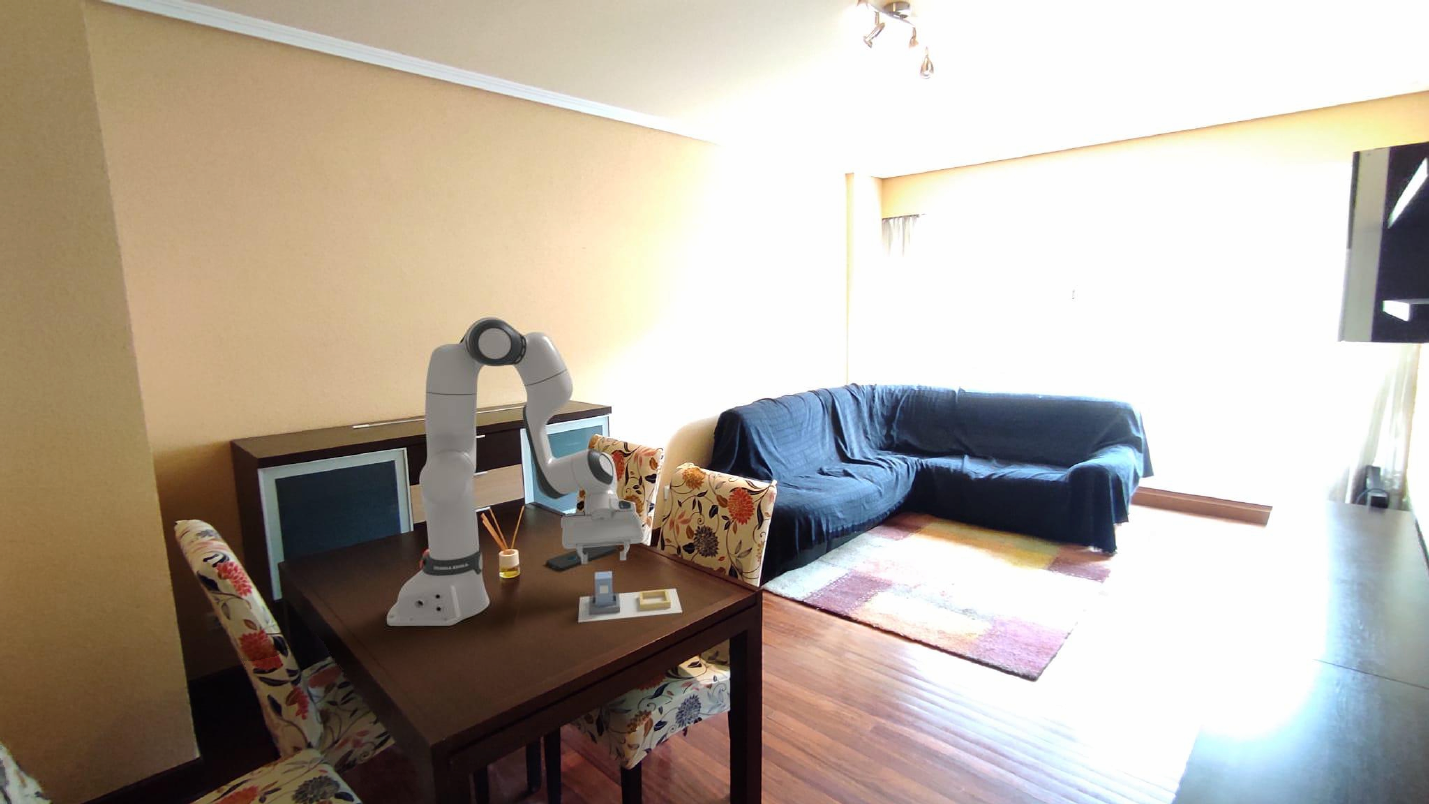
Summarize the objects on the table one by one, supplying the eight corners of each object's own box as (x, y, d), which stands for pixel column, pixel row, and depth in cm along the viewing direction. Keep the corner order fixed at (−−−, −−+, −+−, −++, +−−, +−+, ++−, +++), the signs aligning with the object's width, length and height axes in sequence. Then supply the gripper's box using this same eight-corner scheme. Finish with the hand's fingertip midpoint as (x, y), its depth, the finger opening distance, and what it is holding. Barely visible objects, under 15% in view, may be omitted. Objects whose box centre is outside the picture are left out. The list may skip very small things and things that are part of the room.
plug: (596, 612, 146) (594, 580, 145) (596, 603, 151) (595, 572, 150) (613, 610, 147) (612, 578, 146) (612, 602, 151) (611, 571, 150)
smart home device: (544, 560, 177) (601, 540, 191) (545, 565, 177) (601, 546, 192) (561, 567, 171) (618, 547, 186) (561, 573, 171) (618, 553, 186)
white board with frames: (578, 624, 142) (578, 616, 141) (580, 599, 154) (579, 591, 154) (682, 614, 146) (682, 606, 146) (675, 590, 159) (675, 583, 158)
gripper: (559, 508, 157) (559, 559, 149) (640, 502, 161) (645, 552, 152) (561, 519, 162) (561, 570, 154) (640, 513, 166) (644, 562, 157)
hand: (603, 561), depth 153 cm, fingers open, 8 cm apart
